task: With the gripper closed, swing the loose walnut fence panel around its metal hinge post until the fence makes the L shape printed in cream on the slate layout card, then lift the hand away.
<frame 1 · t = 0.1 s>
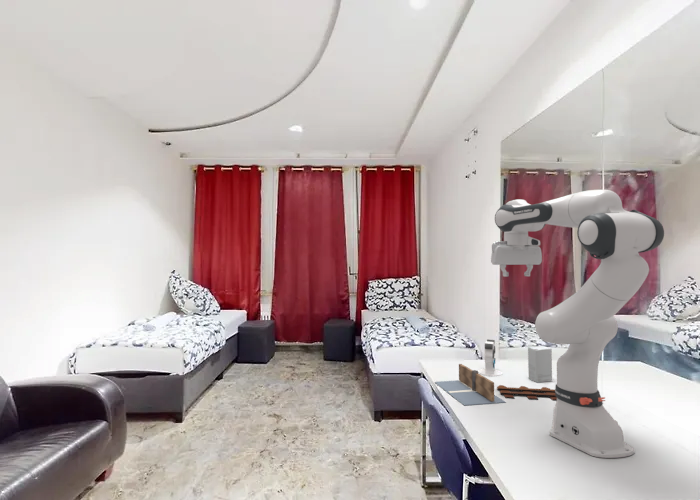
hand: (516, 276, 153), 48 cm above the table, tool pointing down, fingers open, 8 cm apart
white upright piece: (489, 373, 187), on the table
decorative fence: (527, 395, 159), on the table
swing panel: (484, 386, 154), point 4 cm above the table, hinge at 0.0°
skincare box: (540, 380, 175), on the table
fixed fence: (475, 391, 161), resting on layout card
layout card: (467, 391, 160), on the table
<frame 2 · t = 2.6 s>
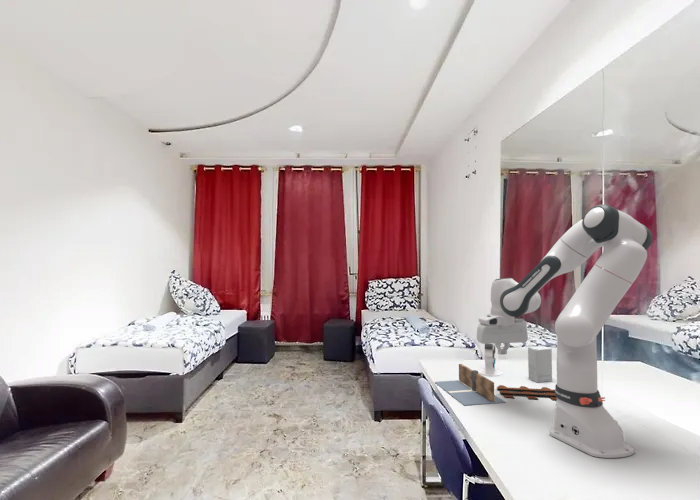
hand: (502, 354, 153), 17 cm above the table, tool pointing down, fingers closed
nothing on the table moved.
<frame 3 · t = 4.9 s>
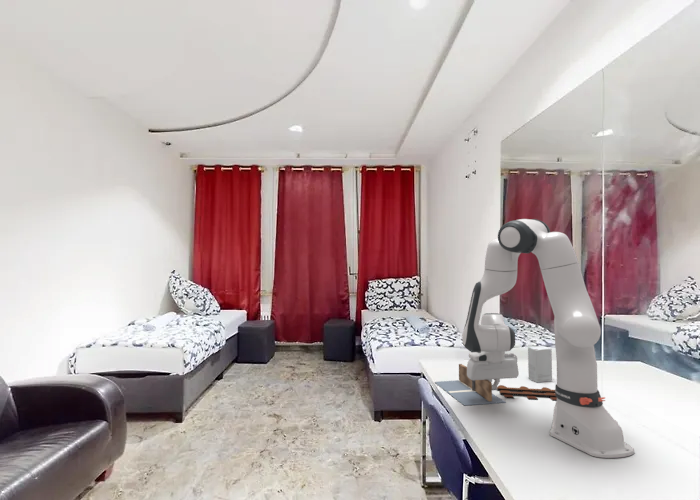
hand: (493, 390, 152), 4 cm above the table, tool pointing down, fingers closed
swing panel: (483, 386, 153), point 4 cm above the table, hinge at 4.3°, touching gripper
everything else where it was.
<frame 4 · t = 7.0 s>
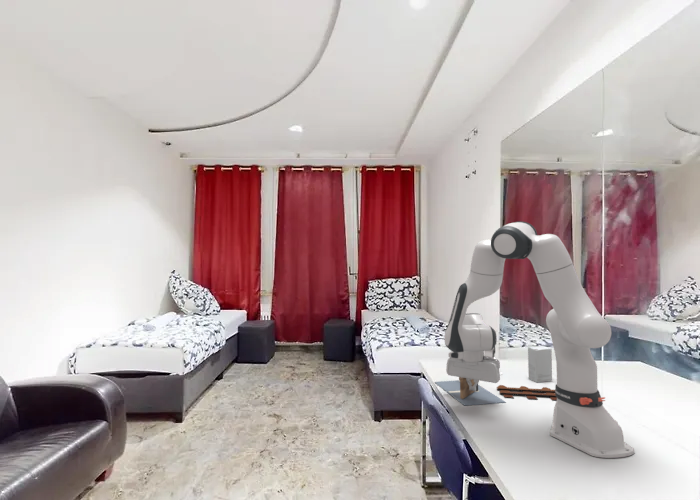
hand: (472, 390, 152), 3 cm above the table, tool pointing down, fingers closed
swing panel: (467, 385, 155), point 4 cm above the table, hinge at 49.9°, touching gripper
everything else where it was.
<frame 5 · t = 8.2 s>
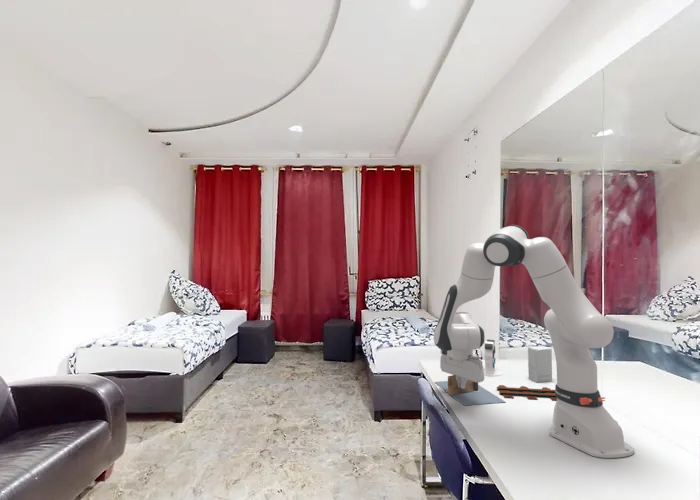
hand: (461, 388, 154), 3 cm above the table, tool pointing down, fingers closed
swing panel: (460, 383, 158), point 4 cm above the table, hinge at 76.1°, touching gripper
everything else where it was.
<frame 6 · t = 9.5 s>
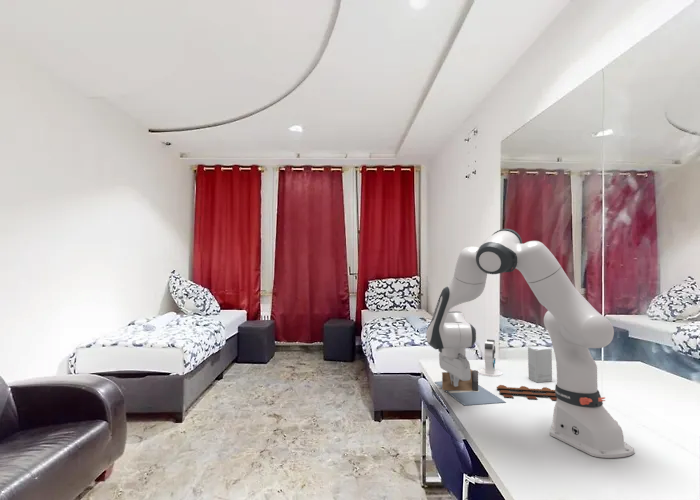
hand: (454, 385, 158), 3 cm above the table, tool pointing down, fingers closed
swing panel: (457, 381, 161), point 4 cm above the table, hinge at 99.6°, touching gripper
everything else where it was.
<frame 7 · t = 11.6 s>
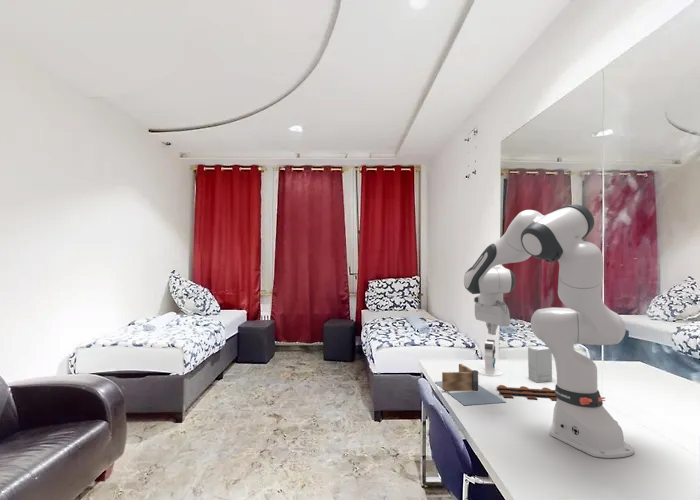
hand: (491, 334, 157), 24 cm above the table, tool pointing down, fingers closed
swing panel: (457, 381, 161), point 4 cm above the table, hinge at 99.6°
everything else where it was.
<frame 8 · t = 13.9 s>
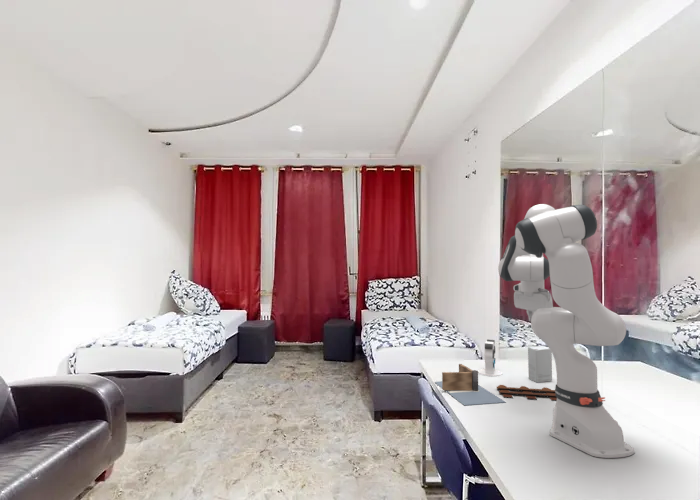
hand: (532, 321, 159), 29 cm above the table, tool pointing down, fingers closed
nothing on the table moved.
at the end: swing panel at +100° (first picture: +0°) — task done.
